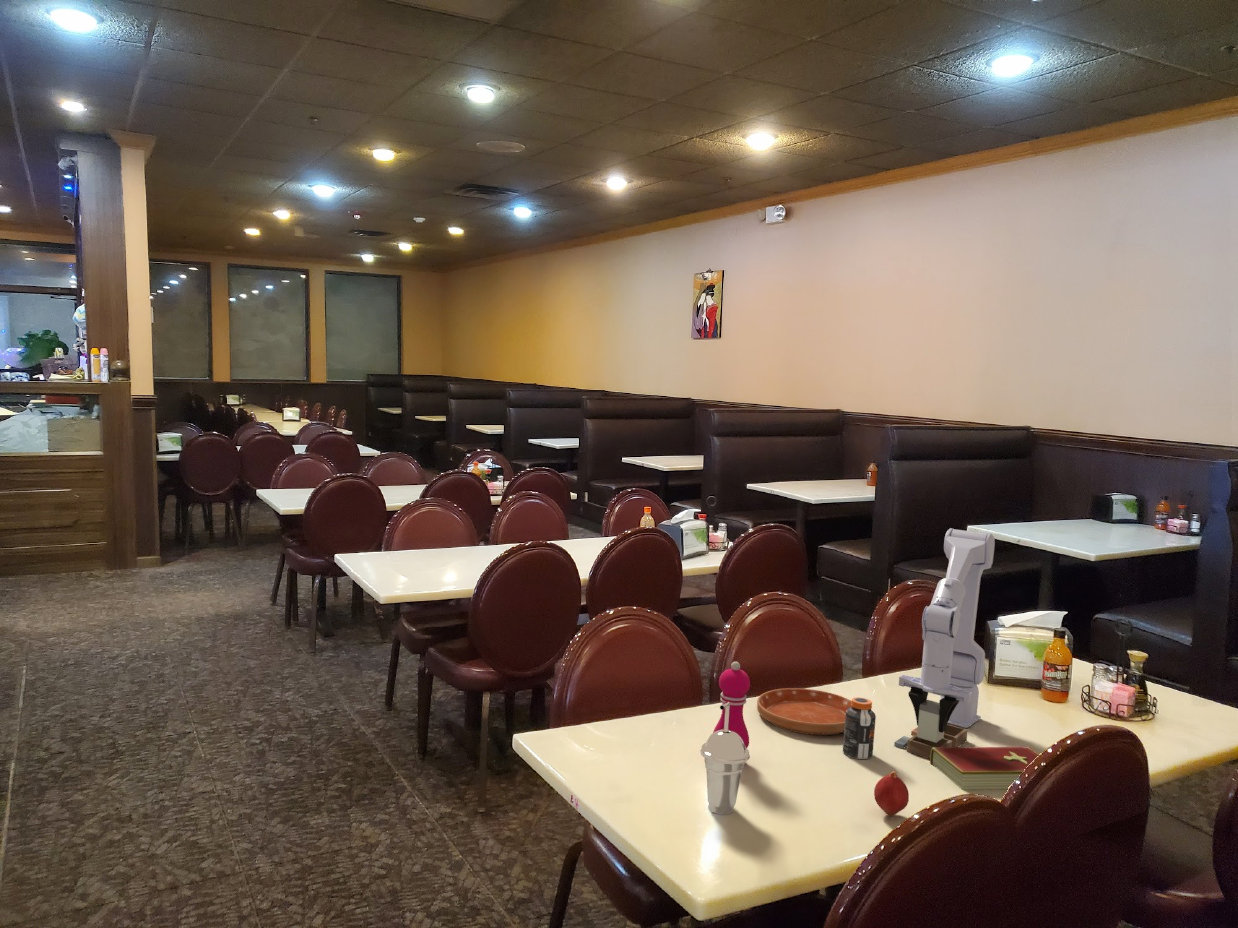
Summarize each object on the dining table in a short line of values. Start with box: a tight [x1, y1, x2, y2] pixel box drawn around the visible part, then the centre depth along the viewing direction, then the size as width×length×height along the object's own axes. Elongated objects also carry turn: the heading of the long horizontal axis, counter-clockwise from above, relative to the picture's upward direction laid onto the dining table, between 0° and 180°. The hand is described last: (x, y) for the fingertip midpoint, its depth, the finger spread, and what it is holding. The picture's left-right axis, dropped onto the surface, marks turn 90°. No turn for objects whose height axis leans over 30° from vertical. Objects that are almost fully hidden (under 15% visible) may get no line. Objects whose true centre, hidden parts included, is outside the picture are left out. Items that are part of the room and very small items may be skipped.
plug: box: [917, 699, 944, 743], centre depth 185 cm, size 4×4×7 cm
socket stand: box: [893, 723, 968, 760], centre depth 190 cm, size 16×10×2 cm, turn 140°
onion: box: [873, 771, 910, 817], centre depth 156 cm, size 6×6×8 cm
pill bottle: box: [842, 696, 877, 760], centre depth 182 cm, size 6×6×11 cm
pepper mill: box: [712, 661, 751, 765], centre depth 175 cm, size 7×7×20 cm
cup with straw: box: [699, 701, 751, 815], centre depth 155 cm, size 8×9×20 cm
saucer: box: [756, 687, 852, 736], centre depth 201 cm, size 23×23×4 cm
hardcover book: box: [929, 746, 1040, 790], centre depth 176 cm, size 12×21×4 cm, turn 99°
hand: (931, 727), depth 186 cm, fingers closed on plug, 4 cm apart
